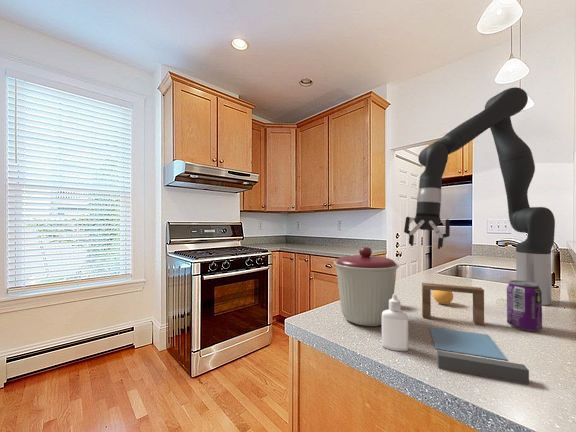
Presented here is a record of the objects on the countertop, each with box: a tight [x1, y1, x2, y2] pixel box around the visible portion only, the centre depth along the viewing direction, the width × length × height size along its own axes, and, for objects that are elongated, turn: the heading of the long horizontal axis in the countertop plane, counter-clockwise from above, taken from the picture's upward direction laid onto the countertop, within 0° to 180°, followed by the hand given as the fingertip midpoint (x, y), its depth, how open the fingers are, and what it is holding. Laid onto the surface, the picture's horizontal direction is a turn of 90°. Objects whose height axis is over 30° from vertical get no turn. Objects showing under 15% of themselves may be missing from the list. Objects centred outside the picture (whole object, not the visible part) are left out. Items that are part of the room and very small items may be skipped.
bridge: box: [421, 282, 485, 327], centre depth 78 cm, size 3×15×10 cm, turn 68°
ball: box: [432, 290, 454, 305], centre depth 93 cm, size 6×6×6 cm
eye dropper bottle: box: [381, 293, 409, 352], centre depth 61 cm, size 4×6×12 cm
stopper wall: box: [436, 350, 530, 385], centre depth 51 cm, size 2×14×2 cm, turn 68°
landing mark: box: [429, 326, 508, 361], centre depth 64 cm, size 13×13×1 cm
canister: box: [333, 246, 400, 327], centre depth 78 cm, size 18×18×21 cm
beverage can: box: [506, 279, 543, 332], centre depth 72 cm, size 7×7×12 cm
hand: (424, 247), depth 95 cm, fingers open, 8 cm apart
